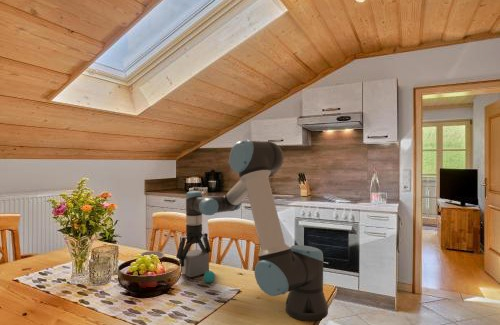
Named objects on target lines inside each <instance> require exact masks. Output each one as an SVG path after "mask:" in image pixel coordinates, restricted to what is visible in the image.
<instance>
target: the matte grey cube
mask: <svg viewBox="0 0 500 325" xmlns="http://www.w3.org/2000/svg"><path fill="white" fill-rule="evenodd" d="M185 259H186V274H184V273H182V266H181V272H180V273H181V274H183V275H185V276H187V277H188V278H193V277H197V276H200V275H204V274H205V273H206V272H207V271H210V253H209V254H208V253H206V252H203V251H202V250H201V249H199V248H196V249H192V250H188V253H187V255H186V257H185ZM179 262H180V259H178V263H179Z"/></svg>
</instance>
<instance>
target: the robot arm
mask: <svg viewBox="0 0 500 325" xmlns="http://www.w3.org/2000/svg"><path fill="white" fill-rule="evenodd" d="M283 152H284V151H282V149H281V147H280V146H279V145H277V143H275V142H272V141H260V140H249V139H247V140H239V141H237V142H236V143H235V144H234V145H233V146H232V148H231V150H230V152H229V160H228V161H229V162H228V164H229V167H230V169H231V170H232V172H234V173H236V174H238V176H239V180H238V181H237V182H236V183H235V184H234V186H232V187H231V188H230V190H229V191H228V192H227V193H226V194H223V195H218V196H208V197H207V196H206V197H205V196H203V193H202V191H199V190H193V191H192V190H190V191H188V192H186V194H185V196H186V197H185V211H186V212H185V213H186V214H185V223H186V224H185V226H186V227H185V232H186V235H185V236H180V237H179V245H178V249H177V253H176V259H178V260H179V259H180V264H181V266H182V273H181V274H183V273H184V274H183V275H185V274H186V259H185V257H186V255H187V253H188V251H190V248H191V247H192V245H194V244H198V246H199V248H200V250H201V251H203V252H206V253H208V254H209V255H210V253H212V252H211V251H212V249H211V246H210V242H209V238H208V235H209V234H208V233H207V232H203V224H202V223H203V215H205V216H212V215H215V214H218V213H219V214H220V213H225V212H234V211H238V210H239V209H241V206H242V202H243V201H244V200H245V199H246V198H247V197H248V201H249V205H250V209H251V214H252V217H253V222H254V225H255V227H254V228H255V230H256V235H257V239H258V243H259V247H260V251H259V252H258V254H257V259H258V262H257V263H255V264H256V265H255V267H254V268H255V269H254V278H255V281H256V284H257V285H258V287H259V289H261V290H262V291H263V292H264V293H265V294H266V295H268V296H271V297H277V296H280V295H285V294H287V293H288V295H287V298H286V300H285V312H286V313H287V314H288V315H289V316H290V317H291V318H294V319H296V320H299V321H306V322H316V321H320V320H323V319H325V318H327V317H328V314H329V306H328V303H327V300H326V296H325V293H324V253H323V251H322V250H321V249H320V248H317V247H314V246H310V245H303V244H302V245H301V244H295V245H292V246H289V245H287V244H286V242H285V238H284V234H283V231H282V230H283V229H282V226H281V223H280V222H281V221H280V219H279V214H278V210H277V207H276V204H275V198H274V195H273V192H272V187H271V184H270V179H269V178H272V177H273V176H274V175H275V174H277V173H278V171H279V170H280V169H281V167H282V166H283V163H284V153H283Z"/></svg>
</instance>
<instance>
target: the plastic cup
mask: <svg viewBox="0 0 500 325" xmlns="http://www.w3.org/2000/svg"><path fill="white" fill-rule="evenodd" d="M151 254H154V255H157V256H158V257H159V260H160V262H161V264H163V263H162V262H163V259H164V257H165V255H166V254H165V253H164V252H162V251H158V250H150V251H149V250H148V251H144V252H141V253H140V254H139V257H140V256H144V255H151Z"/></svg>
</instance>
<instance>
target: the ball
mask: <svg viewBox="0 0 500 325" xmlns="http://www.w3.org/2000/svg"><path fill="white" fill-rule="evenodd" d="M215 278H216V275H215V273H214V271H211V270H209V271H207V272H206V273H204V274H203V281H205V283H207V284H210V283H213V282H214V281H215Z"/></svg>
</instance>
